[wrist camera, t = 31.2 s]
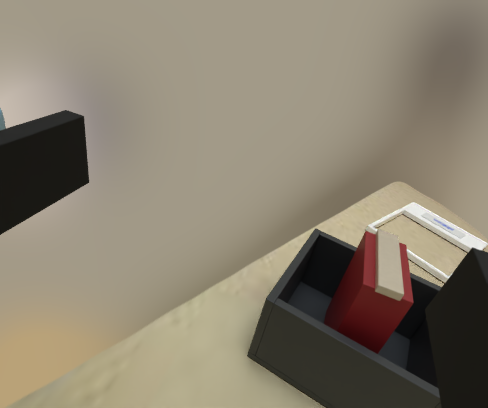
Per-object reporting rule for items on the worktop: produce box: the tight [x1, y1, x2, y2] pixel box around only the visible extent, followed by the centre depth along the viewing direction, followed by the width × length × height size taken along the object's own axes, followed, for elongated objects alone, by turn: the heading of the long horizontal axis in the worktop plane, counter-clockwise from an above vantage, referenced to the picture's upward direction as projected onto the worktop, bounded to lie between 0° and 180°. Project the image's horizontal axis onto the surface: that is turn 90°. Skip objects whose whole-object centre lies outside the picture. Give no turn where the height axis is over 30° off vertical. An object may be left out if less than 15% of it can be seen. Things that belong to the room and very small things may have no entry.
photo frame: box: [366, 202, 488, 283], centre depth 59 cm, size 15×1×18 cm
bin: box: [247, 229, 442, 408], centre depth 34 cm, size 16×14×9 cm
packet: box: [324, 229, 414, 354], centre depth 32 cm, size 4×8×13 cm, turn 161°
